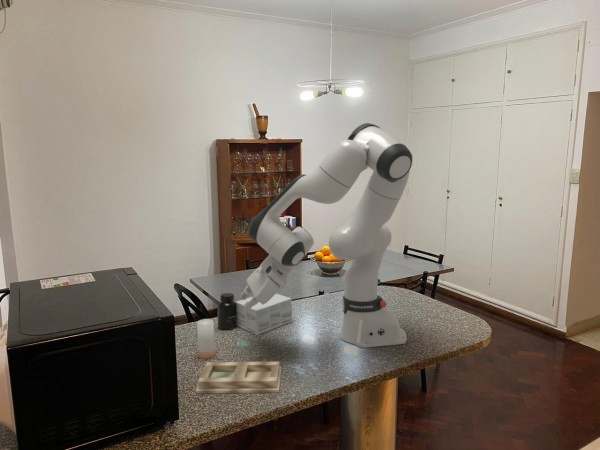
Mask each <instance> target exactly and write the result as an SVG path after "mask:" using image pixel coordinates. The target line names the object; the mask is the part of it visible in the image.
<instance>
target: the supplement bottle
mask: <svg viewBox="0 0 600 450" xmlns="http://www.w3.org/2000/svg"><path fill="white" fill-rule="evenodd" d="M234 300H235V295H234V293H231V292H225V293H224V292H223V293H221V294H220V301H219V302H218V304H217V327H218V328H219V329H220V330H233V329H235V328H236V327H237V326H236V317H237V305H236V301H234Z"/></svg>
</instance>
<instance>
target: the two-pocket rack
mask: <svg viewBox="0 0 600 450" xmlns="http://www.w3.org/2000/svg"><path fill="white" fill-rule="evenodd" d="M281 375H282V365H281V366H280V361H217V362H216V361H212V362H211V361H210V362H209V361H208V362H206V364H205V366H204V369H203V371H202V373H201V375H200V376H199V379H198V381H197V384H198V385H197V387H196V389H195V394H258V393H259V394H262V393H263V394H271V393H272V394H275V393H276V394H278V393H279V392H280V385H281Z"/></svg>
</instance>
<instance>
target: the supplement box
mask: <svg viewBox="0 0 600 450" xmlns="http://www.w3.org/2000/svg"><path fill="white" fill-rule="evenodd" d="M252 297H253V296H248V297H247V298H246V299H245V300H243V299H240V300H237V301H235V302H236V305H237V317H236V327H240V328H241V329H243V330H245V331H248V332H249V333H251V334H253V335H256V336H258V335H261V334H264V333H266V332H269V331H271V330H273V329H276V328H279V327H282V326H283V325H286V324H289V323H291V322H293V306H292V305H293V304H292V298H291V297H288V296H286V295H285V296H284V295H283V294H280V293H276V294H275V295H274V296H273V297H272V298H271V299H270V300H269V301H268V302H267V303H265V304H261V303H260V302H258V303H257V304H256V305H254V306H252V307H251V309H250V310H247V309H246V308H245V306H244V305H245V304H246V303H247V301H248V302H249V301H250V300H251V299H252Z"/></svg>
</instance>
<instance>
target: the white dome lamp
mask: <svg viewBox="0 0 600 450" xmlns="http://www.w3.org/2000/svg"><path fill="white" fill-rule="evenodd" d="M196 327H197V328H196V329H197V330H196V331H197V346H198V347H197V348H198V350H197V351H198V352H197V353H198V354H197V355H198V357H199V359H202V360H208V359H212V358H214V357H215V356H216V347H215V346H216V345H215V343H216V342H215V330H214V329H215V328H214V327H215V326H214V320H213V319H211V318H203V319H200V320H198V321H197V322H196Z"/></svg>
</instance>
